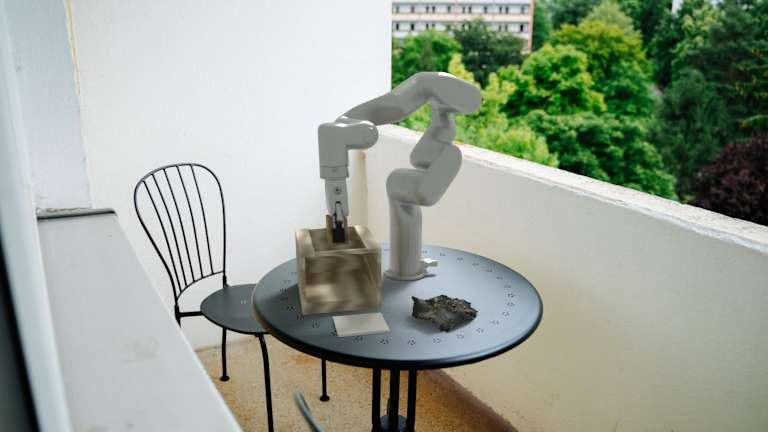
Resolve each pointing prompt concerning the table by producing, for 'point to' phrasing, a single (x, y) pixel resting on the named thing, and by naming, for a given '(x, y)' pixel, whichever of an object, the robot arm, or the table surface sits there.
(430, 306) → the decorative rock
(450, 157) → the robot arm
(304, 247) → the slot box
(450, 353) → the table surface
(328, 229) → the walnut block
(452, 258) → the table surface
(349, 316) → the tile pad
